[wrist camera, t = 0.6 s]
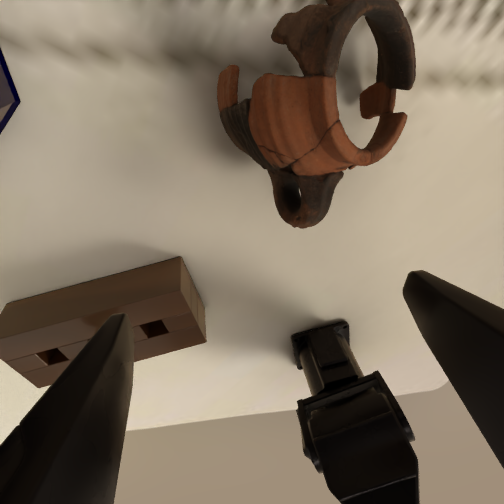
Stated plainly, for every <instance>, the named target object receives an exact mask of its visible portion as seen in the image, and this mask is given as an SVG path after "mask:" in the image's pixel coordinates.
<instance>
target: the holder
mask: <svg viewBox="0 0 504 504" xmlns="http://www.w3.org/2000/svg"><path fill="white" fill-rule="evenodd" d="M118 313H126V314H127V315H128V317H129V320H130V322H131V325H132V327H133V330H134V334H135V343H134V362H136V361H140V360H144V359H147V358H151V357H155V356H158V355H162V354H166V353H169V352H173V351H177V350H180V349H184V348H187V347H191V346H195V345H198V344H202V343H206V342H207V340H206V324H205V308H204V306H203V304H202V301H201V299H200V297H199V295H198V293H197V290H196V288H195V286H194V284H193V282H192V279H191V278H190V275H189V273H188V270H187V268H186V266H185V264H184V262H183V259H182V257H177V258H174V259H170V260H166V261H163V262H159V263H155V264H152V265H148V266H144V267H141V268H137V269H133V270H130V271H126V272H122V273H118V274H115V275H111V276H107V277H104V278H100V279H96V280H93V281H89V282H85V283H82V284H78V285H74V286H70V287H67V288H63V289H59V290H56V291H52V292H48V293H45V294H41V295H37V296H34V297H30V298H26V299H22V300H19V301H15V302H11V303H8V304H6V306H5V308H4V309H3V311H2V312H1V314H0V359H1V360H3V361H4V362H5V363H6V364H8V365H9V366H10V367H12V368H13V369H14V370H15V371H17V372H18V373H20V374H21V375H22V376H23V377H25V378H26V379H27V380H28V381H30V382H31V383H32V384H34V385H35V386H36V387H37V388H41V387H45V386H49V385H52V384H53V383H54V381H55V380H56V379H57V378H58V377H59V375H60V374H61V373H62V372H63V371H64V370H65V368H66V367H67V366H68V365H69V364H70V363H71V361H72V360H73V359H74V358H75V357H76V355H77V354H78V353H79V352H80V351H81V350H82V348H83V347H84V346H85V345H86V344H87V342H88V341H89V340H90V339H91V338H92V337H93V335H94V334H95V333H96V332H97V331H98V329H99V328H100V327H101V326H102V325H103V324H104V322H105V321H106V320H107V319H108V318H109V317H110V316H111V315H112V314H118Z"/></svg>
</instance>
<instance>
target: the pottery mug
mask: <svg viewBox="0 0 504 504" xmlns="http://www.w3.org/2000/svg"><path fill="white" fill-rule="evenodd" d="M326 2H327V4H328V5H324V4H317V5H308V6H306V7H304V8H303V9H301V10H300V11H298V12H296V13H287V14H285V15H284V16H282V17H281V19H280V21H279V22H278V23H277V25H276V27H275V28H274V30H273V32H272V35H271V38H272V40H273V41H274V42H276V43H279V44H286V45H287V48H288V50H289V51H290V52H291V54H292V55H293V56H294V57H295V59H296V60H297V62H298V63H299V66H300V68H301V70H302V72H303V74H304V76H303V77H298V76H284V75H275V74H271V73H265V74H264V75H263V76H262V77H260V78H259V79H257V81H256V82H255V83H254V85H253V89H252V98H251V99H248V98H247V99H245V100H244V101H242V102H241V103H239V104H238V95H237V91H238V78H239V67H238V66H237V65H229V66H228V67H227V68H226V69H225V70H224V71H222V72H221V73H220V75H219V79H218V86H217V99H218V107H219V111H220V118H221V121H222V123H223V126H224V128H225V131H226V133H227V134H228V136H229V137H230V139H231V140H232V141H233V143H234V144H235V145H236V146H237V147H238V148H239V149H240V150H242V151H243V152H245V153H246V154H248V155H249V156H250V157H252V159H253V160H255V161H256V162H257V163H258V164H260V165H261V166H262V167H263V168H264V169H267V171H268V173H269V175H270V177H271V181H272V185H273V194H274V200H275V204H276V208H277V210H278V212H279V214H280V216H281V218H282V219H283V220H284V221H285V222H286V223H288V224H290V225H292V227H294V228H295V227H299V228H302V229H303V228H307V227H312V226H314V225H316V224H318V223H319V222H320V221H321V220H322V219H323V218H324V217H325V215H326V214H327V212H328V210H329V207H330V204H331V200H332V196H333V193H334V190H335V187H336V185H337V183H338V182H339V181H340V180H341V178H342V177H343V174H344V173H343V172H342V171H343V170H346V169H347V168H349V169H350V170H351V169H352V168H354V167H356V166H357V165H358V166H368V165H370V164H373V163H375V162H377V161H379V160H380V159H382V158H383V157H384V156H385V155H386V154H387V153H388V152H389V151H390V150H391V149H392V147H393V145H394V144H395V143H396V142H397V140H398V138H399V136H400V134H401V132H402V130H403V128H404V126H405V123H406V120H407V115H406V114H405V113H404V112H400V113H393V109H394V106H395V99H396V89H401V90H410V89H411V88H412V86H413V83H414V81H415V76H416V71H415V69H416V58H415V48H414V42H413V36H412V33H411V29H410V26H409V24H408V21H407V19H406V17H404V14H403V11H402V9H401V7H400V6H399V3H398V2H397V1H395V0H326ZM362 15H364V16H365V19H366V21H367V23H368V26H369V27H370V29H371V31H372V33H373V36H374V38H375V41H376V44H377V48H378V64H377V76H376V83H375V84H373V85H371V86H369V87H368V88H367V89H366V90H364V91H363V92H362V93H361V94H360V111H361V116H362V118H364V119H371V118H373V117H375V116H380V119H379V123H378V125H377V128H376V130H375V133H374V135H373V137H372V138H371V140H370V142H369V143H368V145H367V146H366V147H365V148H364V149H360V148H358V147H356V146H355V145H354V144H353V143H352V142H351V141H350V139H349V138H348V136H347V135H346V133H345V131H344V128H343V126H342V124H341V122H340V120H339V112H338V107H337V96H336V72H337V67H338V63H339V58H340V54H341V50H342V46H343V44H344V41H345V39H346V37H347V35H348V33H349V31H350V30H351V28H352V26H353V25H354V23H355V22H356V21H357V20H358V19H359V18H360V17H361V16H362ZM299 189H300V192H301V196H300V193H299Z"/></svg>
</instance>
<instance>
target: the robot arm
mask: <svg viewBox="0 0 504 504" xmlns="http://www.w3.org/2000/svg"><path fill="white" fill-rule="evenodd" d="M403 297H404V299H405V301H406V303H407V305H408V307H409V309H410V311H411V313H412V316H413V318H414V320H415V322H416V324H417V326H418V328H419V330H420V332H421V334H422V336H423V338H424V339H425V341H426V343H427V345H428V346H429V348H430V349H431V351H432V353H433V354H434V356H435V358H436V359H437V361H438V363H439V364H440V366H441V367H442V369H443V371H444V372H445V374H446V376H447V377H448V379H449V380H450V382H451V384H452V385H453V387H454V389H455V390H456V392H457V393H458V395H459V397H460V398H461V400H462V401H463V403H464V405H465V406H466V408H467V410H468V411H469V413H470V415H471V416H472V418H473V420H474V421H475V423H476V424H477V426H478V427H479V429H480V431H481V433H482V434H483V436H484V437H485V439H486V441H487V442H488V444H489V446H490V447H491V449H492V451H493V452H494V454H495V455H496V457H497V459H498V460H499V462H500V463H501V465H502V467H503V468H504V309H502V308H500V307H498V306H496V305H494V304H492V303H490V302H488V301H486V300H484V299H482V298H480V297H478V296H476V295H473V294H471V293H469V292H467V291H465V290H463V289H461V288H459V287H457V286H455V285H453V284H451V283H449V282H447V281H445V280H442V279H440V278H438V277H436V276H434V275H432V274H430V273H428V272H426V271H423V270H418V271H411V272H410V273H409V274H408V276H407V279H406V281H405V284H404V287H403ZM291 341H292V346H293V351H294V355H295V360H296V365H297V368H298V369H299V370H301V369H303V370H304V373H305V376H306V379H307V382H308V385H309V388H310V391H311V394H312V396H311V397H309V398H306V399H303V400H302V399H301V400H298V401H297V403H298V409H297V410H296V411H297V415H298V418H299V422H300V426H301V433H302V444H303V452H304V454H305V456H306V457H308V458H309V459H311V461H312V463H313V464H314V465H315V468H316V470H317V471H318V473H323V474H324V477H325V480H326V483H327V486H328V488H329V490H330V491H331V493H332V494H333V495H334V496H335V497H336V498H337V499H338V500H339V501H340V503H341V504H420V496H419V468H418V459H417V457H416V455H415V453H414V450H413V448H412V446H411V444H410V442H412V441H414V440H415V437H414V434H413V432H412V430H411V427H410V425H409V423H408V421H407V419H406V417H405V415H404V413H403V411H402V409H401V408H400V406H399V404H398V402H397V401H396V399H395V397H394V396H393V394H392V392H391V391H390V389H389V388H388V386H387V384H386V383H385V381H384V379H383V378H382V376H381V374H380V373H379V371H378V370H377V371H375V372H373V373H372V374H369V375H367V376H364V375H363V373H362V371H361V369H360V367H359V365H358V363H357V361H356V359H355V357H354V355H353V353H352V351H351V349H350V347H349V324H348V322H346V321H343V322H340V323H336V324H332V325H329V326H325V327H321V328H318V329H314V330H310V331H307V332H303V333H300V334H296V335H293V336H292V337H291ZM134 343H135V334H134V330H133V327H132V325H131V322H130V320H129V317H128V315H127V314H126V313H118V314H112V315H111V316H110V317H109V318H108V319H107V320H106V321H105V322H104V324H103V325H102V326H101V327H100V328H99V329H98V331H97V332H96V333H95V334H94V335H93V337H92V338H91V339H90V340H89V341H88V342H87V344H86V345H85V346H84V347H83V348H82V350H81V351H80V352H79V353H78V354H77V355H76V357H75V358H74V359H73V360H72V361H71V363H70V364H69V365H68V366H67V367H66V368H65V370H64V371H63V372H62V373H61V374H60V375H59V377H58V378H57V379H56V380H55V381H54V383H53V384H52V385H51V386H50V387H49V388H48V390H47V391H46V392H45V393H44V394H43V396H42V397H41V398H40V399H39V400H38V401H37V403H36V404H35V405H34V406H33V407H32V409H31V410H30V411H29V412H28V413H27V414H26V416H25V417H24V418H23V419H22V420H21V422H20V425H18V426H16V427H15V428H14V430H13V431H12V432H11V433H10V434H9V436H8V437H7V438H6V439H5V440H4V441H3V443H2V444H1V445H0V504H114V498H115V491H116V485H117V479H118V473H119V467H120V461H121V455H122V449H123V442H124V436H125V430H126V424H127V418H128V412H129V406H130V400H131V393H132V386H133V366H134Z"/></svg>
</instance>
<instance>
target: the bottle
mask: <svg viewBox="0 0 504 504" xmlns="http://www.w3.org/2000/svg"><path fill="white" fill-rule="evenodd" d="M20 102H21V101H20V99H19V96H18V93H17V91H16V88H15V85H14V83H13V80H12V78H11V75H10V72H9V70H8V67H7V64H6V62H5V59H4V56H3V54H2V51H1V49H0V134H1V132H2V131H3V129H4V127H5V126H6V124H7V123H8V121H9V119H10V118H11V116H12V115H13V113H14V112H15V110H16V108H17V107H18V105H19V104H20Z"/></svg>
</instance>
